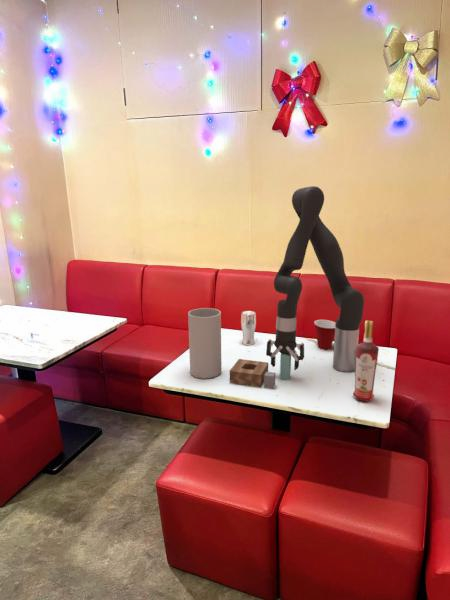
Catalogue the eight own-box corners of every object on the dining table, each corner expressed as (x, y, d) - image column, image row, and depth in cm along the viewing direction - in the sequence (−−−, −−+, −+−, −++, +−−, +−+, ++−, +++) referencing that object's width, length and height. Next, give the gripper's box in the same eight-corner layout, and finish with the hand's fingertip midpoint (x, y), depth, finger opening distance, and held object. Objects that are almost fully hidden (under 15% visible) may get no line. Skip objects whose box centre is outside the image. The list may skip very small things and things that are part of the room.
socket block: (268, 374, 168) (268, 362, 167) (260, 387, 157) (260, 375, 156) (239, 370, 172) (239, 358, 171) (229, 383, 161) (229, 370, 160)
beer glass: (254, 346, 198) (255, 315, 194) (239, 345, 199) (239, 314, 196) (256, 341, 205) (257, 311, 201) (242, 340, 206) (242, 310, 202)
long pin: (290, 376, 166) (291, 352, 164) (288, 380, 163) (289, 355, 161) (281, 375, 167) (282, 351, 165) (279, 379, 164) (280, 354, 162)
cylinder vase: (211, 382, 162) (209, 319, 156) (184, 375, 168) (181, 314, 162) (227, 369, 173) (226, 310, 166) (201, 364, 179) (199, 306, 172)
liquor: (351, 401, 147) (356, 323, 139) (353, 392, 153) (358, 317, 146) (373, 404, 144) (380, 326, 137) (374, 395, 151) (381, 319, 144)
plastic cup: (336, 353, 189) (337, 327, 186) (311, 350, 192) (312, 325, 189) (337, 344, 199) (339, 320, 196) (314, 342, 202) (315, 318, 199)
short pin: (275, 385, 159) (275, 372, 158) (273, 389, 156) (273, 376, 155) (266, 383, 160) (266, 371, 159) (264, 387, 157) (264, 375, 156)
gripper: (306, 326, 161) (304, 366, 165) (270, 322, 166) (268, 361, 170) (303, 332, 154) (301, 374, 159) (265, 328, 159) (264, 368, 163)
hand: (284, 367), depth 164 cm, fingers open, 8 cm apart
